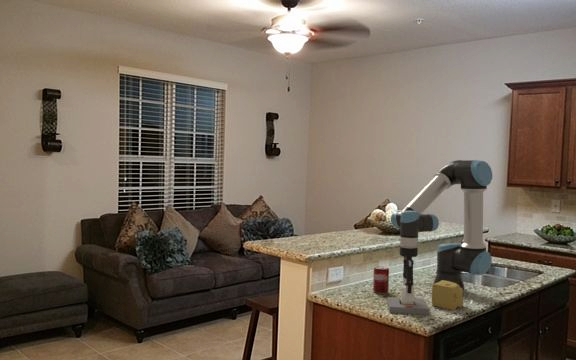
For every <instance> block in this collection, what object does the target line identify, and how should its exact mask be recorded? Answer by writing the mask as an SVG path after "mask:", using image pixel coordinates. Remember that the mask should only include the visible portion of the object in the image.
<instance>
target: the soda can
mask: <svg viewBox="0 0 576 360" xmlns="http://www.w3.org/2000/svg"><path fill="white" fill-rule="evenodd" d="M389 284H390V268H389V267H387V266H381V265H380V266H379V265H378V266H374V267H373V285H372V286H373V287H372V290H373V292H374V293H375V294H380V295H386V294H388V293H389V290H390V288H389V287H390V285H389Z"/></svg>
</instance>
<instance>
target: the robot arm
mask: <svg viewBox="0 0 576 360" xmlns="http://www.w3.org/2000/svg"><path fill="white" fill-rule="evenodd" d="M492 181H493V170H492V168H491V165H489V163H488V162H486V161H485V160H477V159H475V160H466V159H465V160H464V159H463V160H461V159H457V160H453V161H451V162H448V163H447V164H444V166H443V167H441V168H439V170H437V171H436V172H435V173H434V175H433V178H432V179H431V180H430V182H428V184H427V185H426V186H424V187H423V189H422V190H421V191H420V192H418V194H416V196H414V197H413V199H412V200H411V201H410V202H409V203H407V205H406V206H405V207H403V209H402V210H398V211H397V210H395V211H393V212H392V214H391V216H390V222H391V225H392V226H393V227H395V228H399V229H400V230H399V231H400V233H399V234H400V235H399V237H400V238H398V241H399V246H400V247H399V256H401V257H403V260H402V262H403V268H402V269H403V270H402V272H403V273H402V278H403V279H402V281H403V282H402V285H406V301H412V292H413V287H414V265H415V264H414V259H413V258H416V257H418V254H419V253H418V251H419V248H418V247H419V233H425V232H426V233H427V232H429V233H430V232H434V231H437V229H438V228H439V225H440V222H439V219H438V216H436V215H435V214H430V213H427V214H424V212H425V211H426V210H427V209H428V208H429V207H430V206H431V205H432V203H434V201H436V199H437V198H438V197H440V196H441V194H442V193H443V192H444V191H445V190H448V189H450V188H451V187H452V186H454V185H460V190H462V192H463V242H462V243H460V242H459V243H457V242H454V243H452V242H451V243H440V244H438V246H437V251H436V253H437V254H436V274H435V277H434V280H433V283H432V285H433V284H435V283H438V282H440V281H441V280H445V281H449V282H453V283H457V284H458V285H460V288H462V290H463V293H464V292H465V284H464V280H463V276H462V273H467V274H471V275H472V276H473V275H476V276H483V275H485V274H486V273H487V272H488V271H489V269H490V268H491V266H492V262H493V261H492V255H491V253H490V252H489V251H487V245H485V243H484V241H483V240H484V192H486V190H487V189H488V188H487V186H489V185H491V183H492Z"/></svg>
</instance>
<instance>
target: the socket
mask: <svg viewBox="0 0 576 360" xmlns="http://www.w3.org/2000/svg"><path fill="white" fill-rule="evenodd" d="M386 298H387V299H386V302H387V308H388V312H389V313H390V314H391V313H392V314H404V313H405V314H406V315H407V314H408V315H421V314H423V315H425V316H429V315H430V309H429V306H428V304H427V302H426V300H425V298H415V297H414V305H412V304H411V305H407V304H405V305H403V304H402V303H401V297H398V296H397V297H396V296H387V297H386ZM405 314H404V315H405Z"/></svg>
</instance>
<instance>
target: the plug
mask: <svg viewBox="0 0 576 360" xmlns="http://www.w3.org/2000/svg"><path fill="white" fill-rule="evenodd" d="M400 298H401V303H402V304H403V305H405V304H407V305H411V304H412V305H414V298H415V287H414V286H413V292H412V301H406V285H403V284H401V285H400Z"/></svg>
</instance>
